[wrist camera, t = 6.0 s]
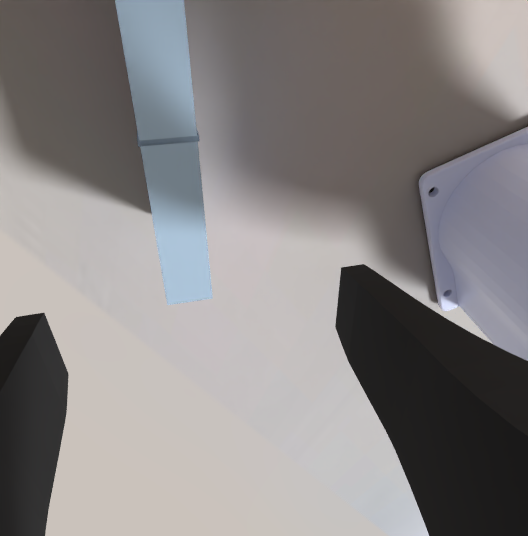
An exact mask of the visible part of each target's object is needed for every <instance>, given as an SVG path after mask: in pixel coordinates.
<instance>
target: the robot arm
mask: <svg viewBox="0 0 528 536" xmlns="http://www.w3.org/2000/svg"><path fill="white" fill-rule="evenodd" d="M433 187H434V190H433V191H432V192H431V193H429V191H430V189H432V188H433ZM419 189H420V195H421V202H422V208H423V214H424V220H425V226H426V232H427V238H428V244H429V251H430V257H431V263H432V269H433V275H434V281H435V287H436V293H437V300H438V305H439V307H440V308H441V309H442V310H443V311H449V310H451V309H454V308H456V307H458V306H460V307H461V308H462V309H463V311H464V312H465V313H466V314H467V315H468V316H469V317H470V318H471V320H472V321H473V322H474V323H475V324H476V325H477V326H478V327H479V329H480V330H481V331H482V332H483V333H484V334H485V335H486V336H487V338H488V339H489V340H490V341H491V342H492V343H493V344H494V345H493V344H491V343H489V342H487V341H485V340H483V339H481V338H479V337H478V336H476V335H474V334H472V333H470V332H468V331H467V330H465V329H463V328H462V327H460V326H458V325H456V324H455V323H453V322H451V321H449V320H448V319H446V318H444V317H443V316H441V315H440V314H438V313H436V312H435V311H433V310H432V309H430V308H428V307H427V306H425V305H424V304H422V303H421V302H419V301H418V300H416V299H415V298H413V297H412V296H410V295H409V294H407V293H406V292H404V291H403V290H401V289H400V288H398V287H397V286H395V285H394V284H393V283H391V282H390V281H388V280H387V279H385V278H384V277H382V276H381V275H379V274H378V273H377V272H375V271H374V270H372V269H371V268H369V267H367V266H366V265H364V264H362V265H356V266H349V267H342V268H341V277H340V287H339V297H338V307H337V317H336V330H337V332H338V335H339V338H340V341H341V343H342V346H343V349H344V351H345V354H346V356H347V359H348V361H349V363H350V365H351V367H352V369H353V371H354V373H355V375H356V376H357V378H358V380H359V382H360V384H361V386H362V388H363V390H364V391H365V393H366V395H367V397H368V399H369V401H370V402H371V404H372V406H373V408H374V410H375V412H376V414H377V415H378V417H379V419H380V421H381V423H382V425H383V426H384V428H385V430H386V432H387V434H388V436H389V438H390V440H391V442H392V444H393V446H394V448H395V451H396V453H397V455H398V458H399V460H400V463H401V465H402V467H403V470H404V472H405V475H406V477H407V479H408V482H409V484H410V487H411V489H412V492H413V494H414V497H415V500H416V502H417V505H418V507H419V510H420V512H421V515H422V517H423V520H424V523H425V525H426V528H427V531H428V533H429V536H528V127H526V128H523V129H521V130H519V131H517V132H514V133H512V134H510V135H508V136H505V137H503V138H501V139H499V140H497V141H494V142H492V143H490V144H488V145H485V146H483V147H481V148H479V149H476V150H474V151H472V152H470V153H467V154H465V155H463V156H461V157H459V158H456V159H454V160H452V161H450V162H447V163H445V164H443V165H441V166H438V167H436V168H434V169H432V170H429V171H427V172H426V173H424V174H423V175H422V176H421V178H420V180H419ZM428 193H429V194H428ZM446 290H447V291H446ZM67 391H68V372H67V369H66V367H65V364H64V362H63V359H62V357H61V354H60V352H59V349H58V347H57V344H56V341H55V339H54V337H53V334H52V331H51V329H50V326H49V324H48V321H47V319H46V316H45V314H44V313H40V314H33V315H27V316H20V317H16V318H15V319H14V320H13V321H12V322H11V323H10V325H9V326H8V327H7V328H6V330H5V331H4V332H3V333H2V334H1V336H0V536H45V530H46V523H47V515H48V509H49V503H50V498H51V493H52V488H53V482H54V476H55V472H56V467H57V461H58V456H59V451H60V445H61V440H62V434H63V429H64V424H65V417H66V410H67V393H68V392H67Z"/></svg>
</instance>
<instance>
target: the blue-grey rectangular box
mask: <svg viewBox="0 0 528 536" xmlns="http://www.w3.org/2000/svg"><path fill="white" fill-rule="evenodd" d="M115 3H116V9H117V15H118V21H119V27H120V32H121V38H122V44H123V50H124V56H125V61H126V67H127V73H128V79H129V84H130V90H131V96H132V102H133V108H134V113H135V119H136V125H137V142H138V147H140V148H141V154H142V160H143V166H144V171H145V177H146V183H147V189H148V195H149V200H150V206H151V212H152V218H153V224H154V229H155V235H156V241H157V247H158V253H159V258H160V264H161V270H162V276H163V282H164V287H165V293H166V299H167V305H171V304H178V303H185V302H192V301H198V300H205V299H212V298H213V297H212V287H211V276H210V266H209V256H208V245H207V235H206V224H205V214H204V203H203V193H202V183H201V172H200V162H199V151H198V141H199V134H198V131H197V128H196V120H195V110H194V99H193V89H192V79H191V68H190V58H189V47H188V37H187V27H186V16H185V6H184V0H115Z"/></svg>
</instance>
